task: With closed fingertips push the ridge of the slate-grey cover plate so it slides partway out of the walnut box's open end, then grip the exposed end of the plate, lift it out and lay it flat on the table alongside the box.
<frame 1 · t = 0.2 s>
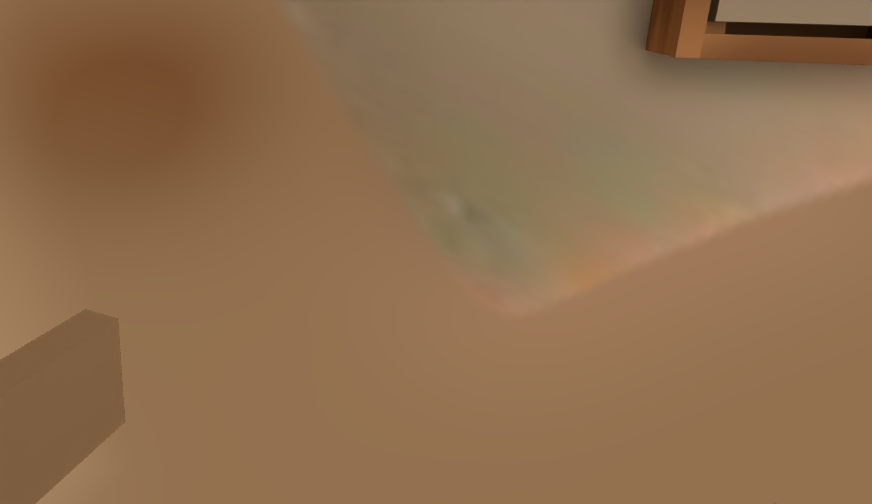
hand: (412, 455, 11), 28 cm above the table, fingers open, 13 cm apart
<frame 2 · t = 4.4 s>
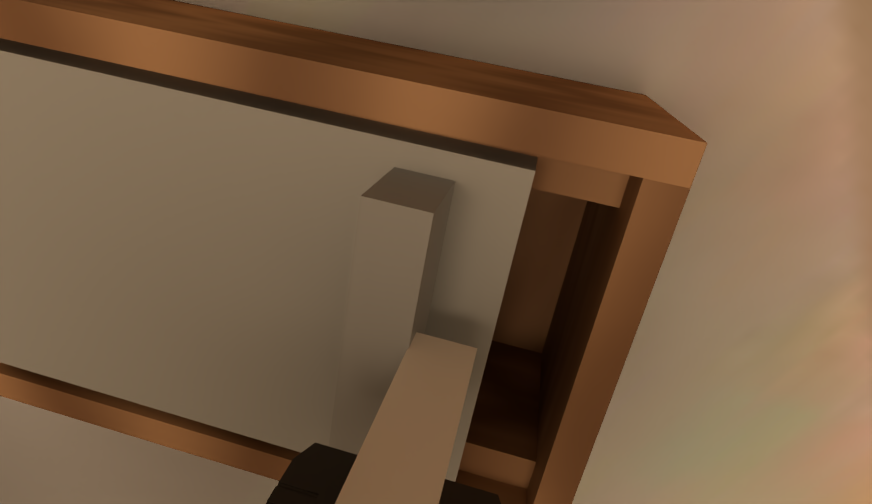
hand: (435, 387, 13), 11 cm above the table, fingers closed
walnut box: (358, 202, 23), on the table
slate lid: (238, 262, 17), point 7 cm above the table, touching gripper, walnut box
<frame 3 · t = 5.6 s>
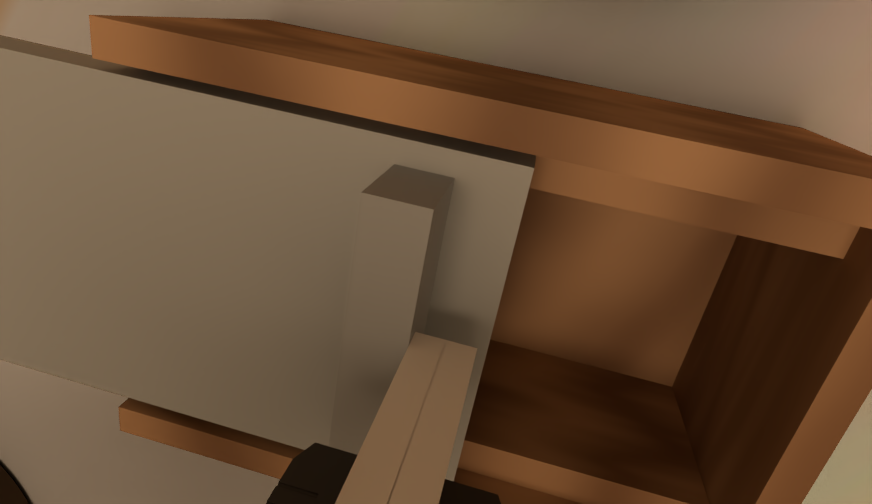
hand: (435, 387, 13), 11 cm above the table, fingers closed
walnut box: (483, 232, 23), on the table
slate lid: (238, 259, 17), point 7 cm above the table, touching walnut box
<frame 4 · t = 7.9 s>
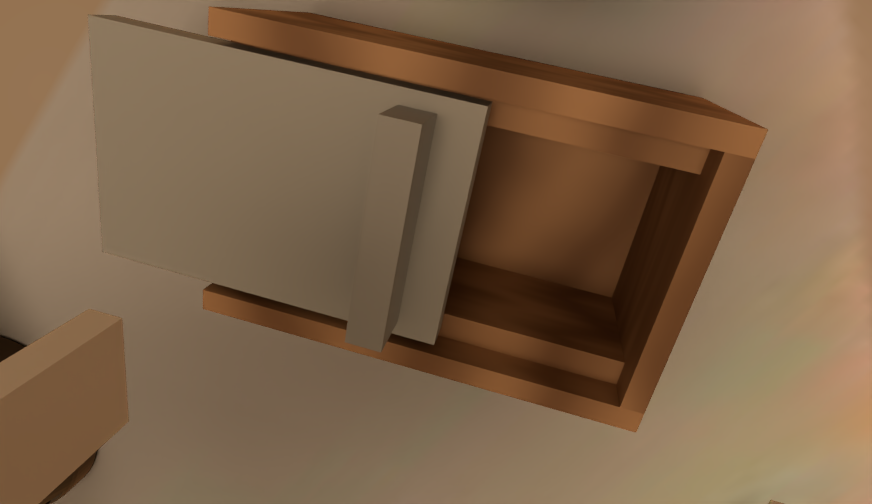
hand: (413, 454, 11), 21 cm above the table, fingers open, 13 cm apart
walnut box: (470, 178, 30), on the table
slate lid: (286, 179, 24), point 7 cm above the table, touching walnut box
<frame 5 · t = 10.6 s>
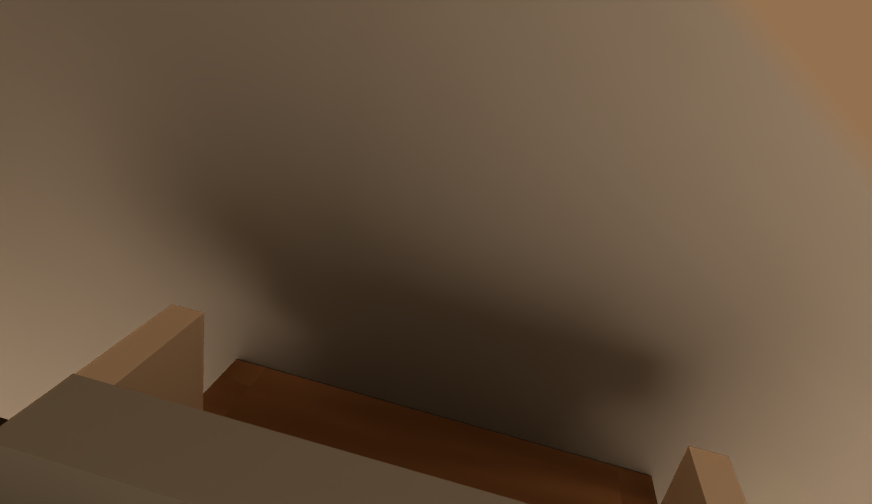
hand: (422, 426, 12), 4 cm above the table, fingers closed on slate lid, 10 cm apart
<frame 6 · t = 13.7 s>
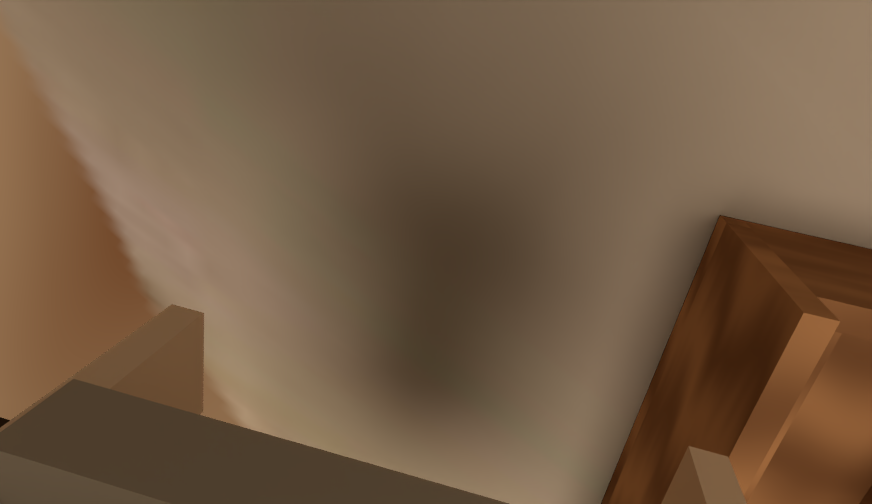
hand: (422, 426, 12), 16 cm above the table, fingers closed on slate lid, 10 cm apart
walnut box: (777, 432, 27), on the table
when the fingers open (0 cm above the table, at t = 17.1 s): slate lid drops 4 cm, on the table.
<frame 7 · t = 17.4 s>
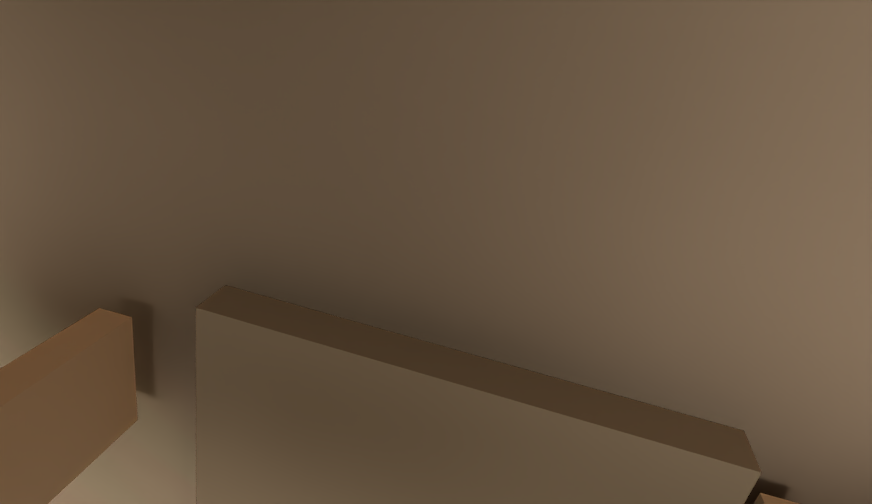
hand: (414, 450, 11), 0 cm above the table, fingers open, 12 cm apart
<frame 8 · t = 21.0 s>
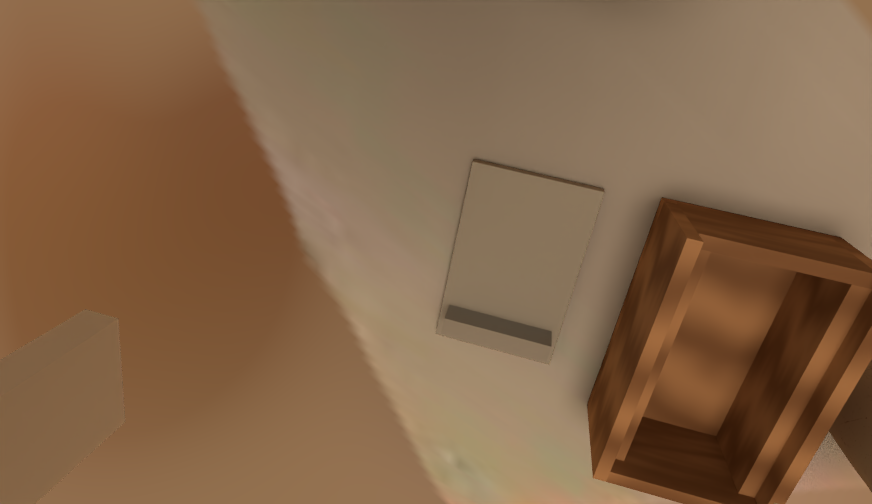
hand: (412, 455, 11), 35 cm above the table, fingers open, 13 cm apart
walnut box: (700, 329, 45), on the table
slate lid: (514, 261, 47), on the table
thermos bottle: (867, 393, 45), on the table
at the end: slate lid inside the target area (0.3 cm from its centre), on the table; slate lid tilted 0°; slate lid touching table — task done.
